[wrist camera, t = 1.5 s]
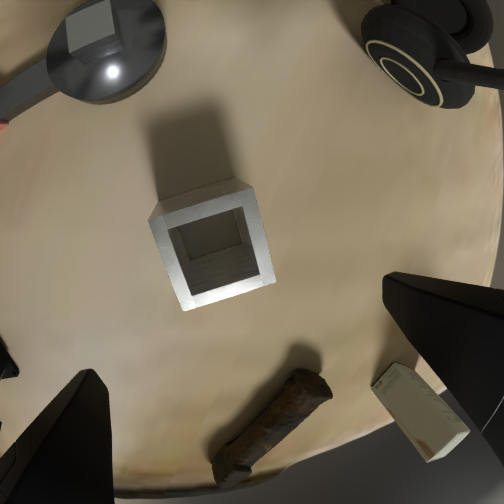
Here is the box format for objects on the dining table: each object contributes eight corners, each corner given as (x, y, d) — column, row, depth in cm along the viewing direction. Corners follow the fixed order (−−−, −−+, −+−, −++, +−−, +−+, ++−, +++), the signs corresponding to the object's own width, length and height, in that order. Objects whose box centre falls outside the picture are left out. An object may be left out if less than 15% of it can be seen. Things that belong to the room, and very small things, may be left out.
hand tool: (293, 360, 24) (312, 396, 20) (323, 371, 26) (343, 404, 21) (192, 458, 27) (196, 489, 23) (220, 464, 29) (226, 493, 25)
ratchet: (-34, 188, 13) (-73, 202, 8) (-47, 108, 10) (-84, 107, 5) (177, 81, 15) (174, 57, 10) (156, -6, 12) (151, -45, 7)
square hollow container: (182, 272, 19) (183, 311, 14) (158, 201, 17) (148, 220, 12) (254, 249, 20) (276, 281, 15) (235, 177, 18) (253, 187, 13)
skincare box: (368, 388, 28) (423, 464, 17) (393, 360, 28) (457, 433, 16) (394, 395, 31) (444, 458, 20) (416, 370, 30) (472, 431, 19)
